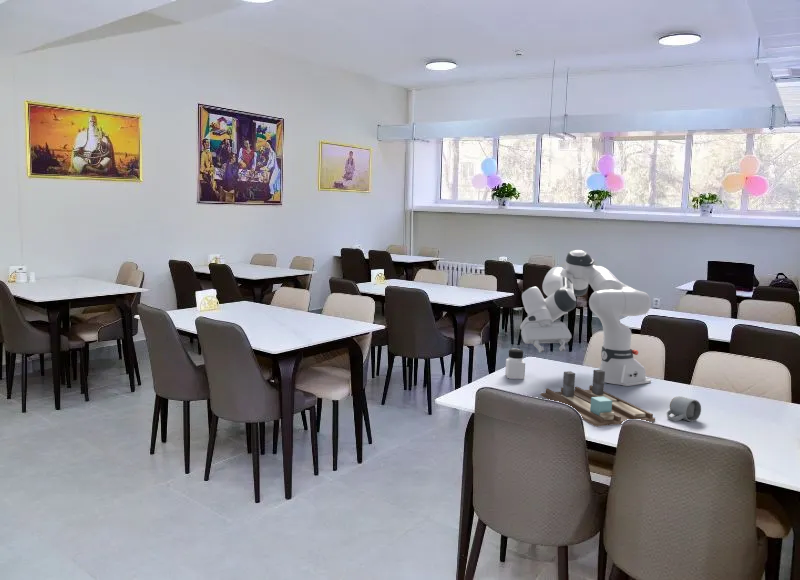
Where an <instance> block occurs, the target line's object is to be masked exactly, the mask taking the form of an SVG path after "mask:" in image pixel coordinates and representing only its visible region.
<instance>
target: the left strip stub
mask: <svg viewBox="0 0 800 580" xmlns="http://www.w3.org/2000/svg"><path fill="white" fill-rule="evenodd" d="M592 371H593V374H592V385H591V386H592V393H591V394H593V395H596V396H598V397H602V396H604V397H606V398H608V399H610V400H612V402H617V400H616V399H614V398H612V397H610V396H608V395H606V394H604V391H605V382H604V379H605V371H603V370H600V369H593V370H592Z"/></svg>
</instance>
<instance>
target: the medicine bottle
mask: <svg viewBox="0 0 800 580" xmlns="http://www.w3.org/2000/svg"><path fill="white" fill-rule="evenodd" d="M525 370H526V362H525V360H524V351H523V349H519V348H511V349H509V350H508V358H506V359H505V373H504V374H505V376H506V378H507V379H508V378H509V380H510V379H511V380H525V377H526V376H525V374H526V373H525V372H526V371H525Z"/></svg>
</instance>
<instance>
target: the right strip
mask: <svg viewBox="0 0 800 580" xmlns="http://www.w3.org/2000/svg"><path fill="white" fill-rule="evenodd" d="M575 382H576V373H575V372H573V371H570V370H569V371H563V379H562V388H563V393H562V395H561V396H563V397H565V398H567V399H569V400H571V401H573V402H574V403H576V404H578V405H580V406H582V407H584V408H586V409H588V410H589V411H590V407H591V404H590V403H588V402H586V401H584V400H582V399H580V398H578V397H576V396H574V391H575ZM600 416H601V417H603V418H604V420H613V419H614V412H604V413H600Z"/></svg>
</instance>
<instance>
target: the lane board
mask: <svg viewBox="0 0 800 580" xmlns="http://www.w3.org/2000/svg"><path fill="white" fill-rule="evenodd" d="M562 393H563V387H561V388H560V391H554V390H552V389H550V388H545V392H540V396H541V397H542V398H544V399H546V400H548V399H550V400H554V401H559V402H562V403H565V404H568V405H570V406H572V407H573V408H575V409H576V410H577V411H578V412H579V413H580V414H581V416H582V418H583V419H582V420H583V421H585V422H587V423H589V424H590V425H591V426H594V427H604V426H615V425H616V426H617V425H622V424H621V423H622V422H623V421H625V420H627V419H641V420H646V421H650V422H656V418H655V417H654V414H653V413H651V412H650V411H647V410H645V409H643V408H641V407H639V406H636V405H634V404H632V403H631V402H628V401H627V400H624V399H621V398H619V397H618V396H615V395H614V394H612V393H609V392H607V391H605V390H604V394H606V395H608V396H610V397H612V398H614V399H616V400H617V402H619V401H621V402H623V403H625V404H627V405H629V406H631V407H633V408H635V409H638V410H640V411H642V412H644V413H646V416H645V417H636V415H634V414H632V413H630V412H628V411H626V410H624V409H622V408H620V407H618V406H616V405H614V404H612V411H611V412H614V419H613V420H604V418H603V417H601V416H599V415H597V414H595V413H593V412H591V411H589V410H588V409H586V408H584V407H582V406H580V405H578V404H576V403H574V402H573V401H571V400H569V399H567V398H565V397H563V396H561V395H562ZM591 393H592V385H589V389H583V388H581V387H579V386H574V396H576V397H578V398H580V399H582V400H584V401H586V402H588V403H590V404H591V397H598V396H596V395H593V394H591ZM550 400H549V401H550Z"/></svg>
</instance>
